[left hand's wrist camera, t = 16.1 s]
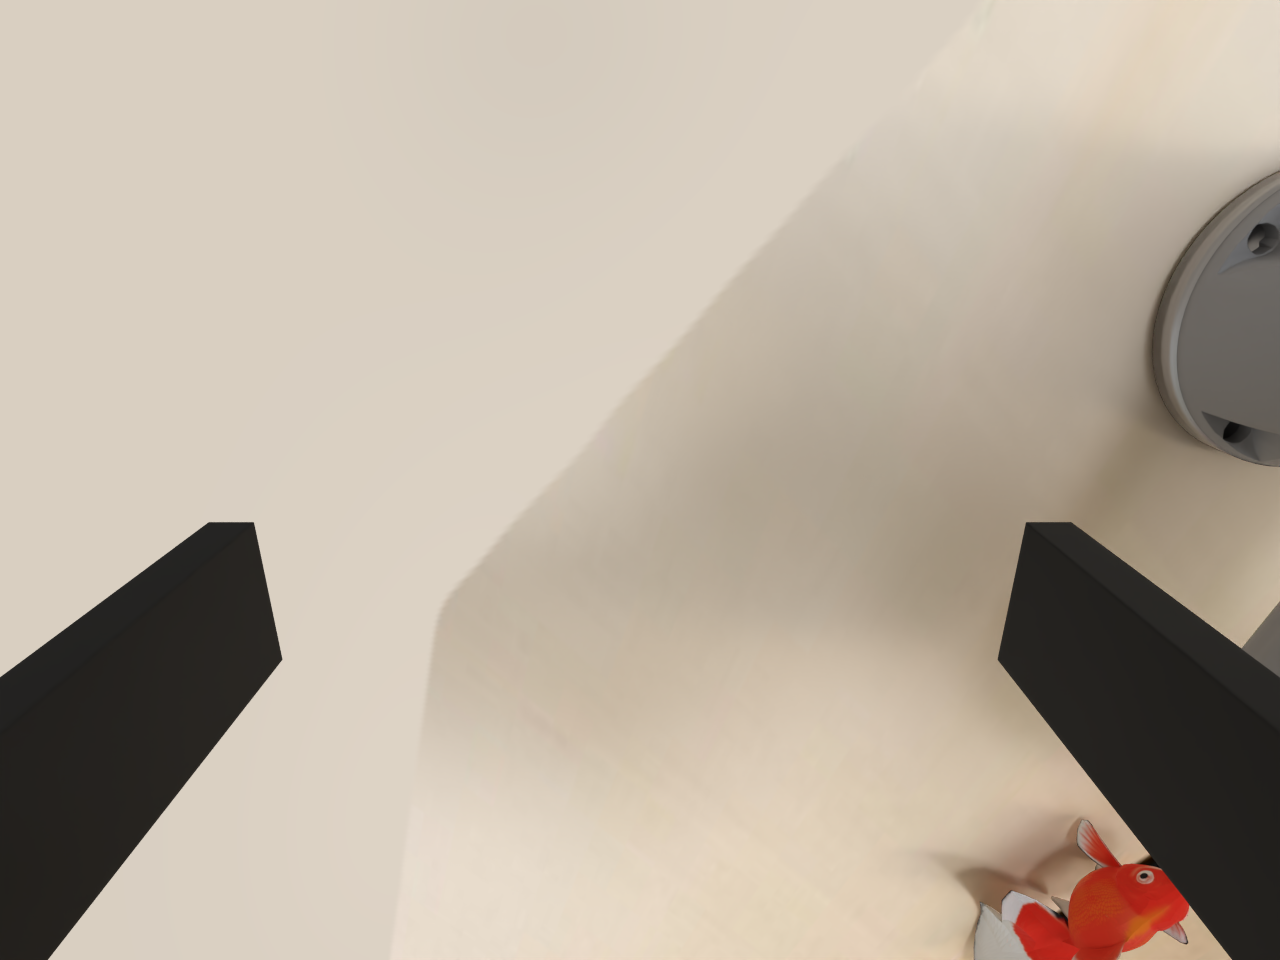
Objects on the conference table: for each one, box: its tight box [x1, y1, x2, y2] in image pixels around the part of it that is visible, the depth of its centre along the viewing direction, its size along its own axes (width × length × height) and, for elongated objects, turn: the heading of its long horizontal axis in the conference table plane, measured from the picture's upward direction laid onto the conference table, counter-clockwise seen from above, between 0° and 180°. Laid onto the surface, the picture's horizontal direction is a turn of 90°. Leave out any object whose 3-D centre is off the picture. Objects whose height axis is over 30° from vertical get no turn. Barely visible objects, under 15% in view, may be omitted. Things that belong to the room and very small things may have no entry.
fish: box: [974, 820, 1189, 960], centre depth 48 cm, size 11×16×10 cm
